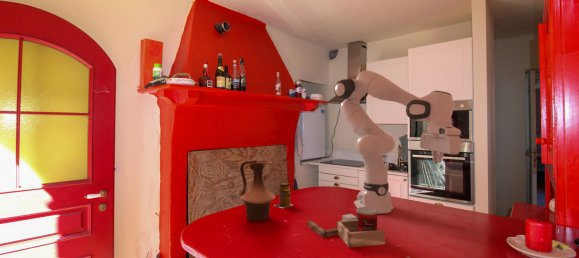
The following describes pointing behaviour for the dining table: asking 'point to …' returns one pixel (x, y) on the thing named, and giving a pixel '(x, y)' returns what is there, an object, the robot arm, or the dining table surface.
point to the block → (348, 217)
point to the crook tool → (322, 230)
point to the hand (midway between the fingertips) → (436, 162)
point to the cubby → (359, 235)
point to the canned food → (366, 219)
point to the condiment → (284, 196)
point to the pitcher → (256, 192)
